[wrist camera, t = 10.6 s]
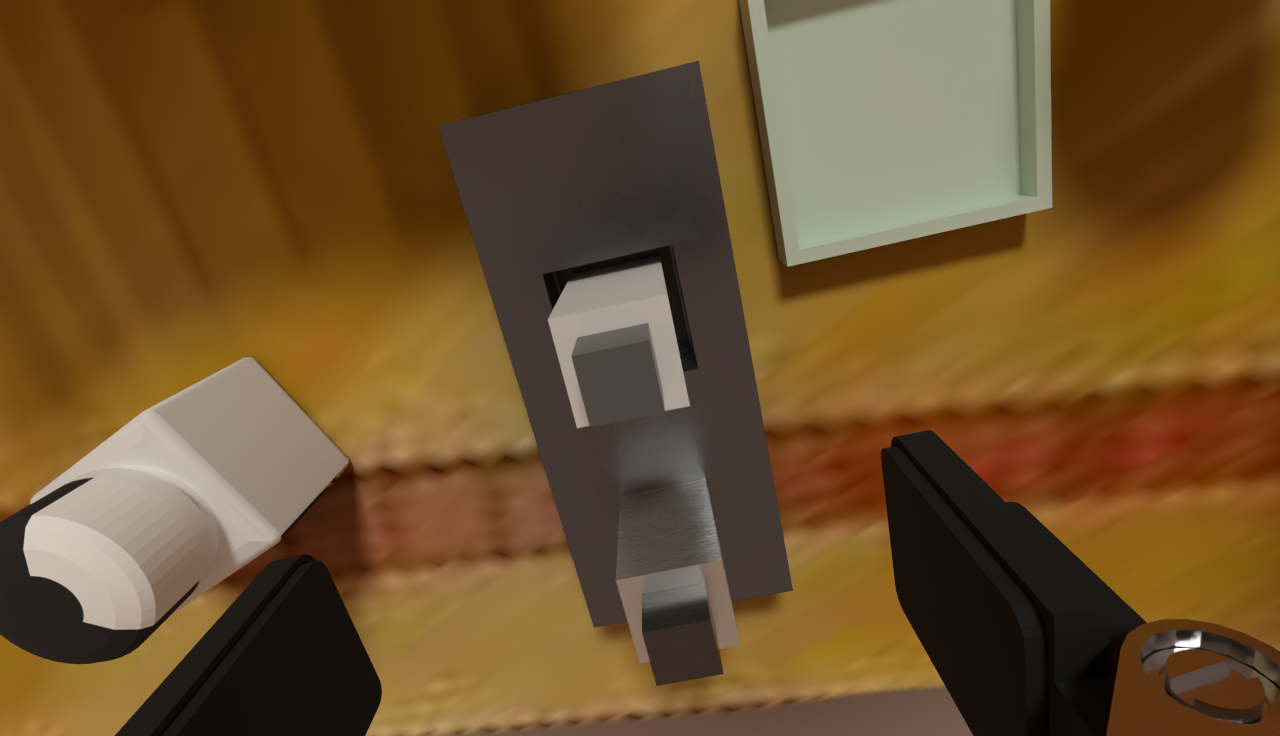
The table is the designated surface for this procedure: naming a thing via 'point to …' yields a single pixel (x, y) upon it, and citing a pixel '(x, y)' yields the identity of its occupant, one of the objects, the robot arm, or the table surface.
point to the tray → (898, 117)
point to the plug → (618, 344)
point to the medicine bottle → (160, 515)
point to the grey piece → (706, 336)
